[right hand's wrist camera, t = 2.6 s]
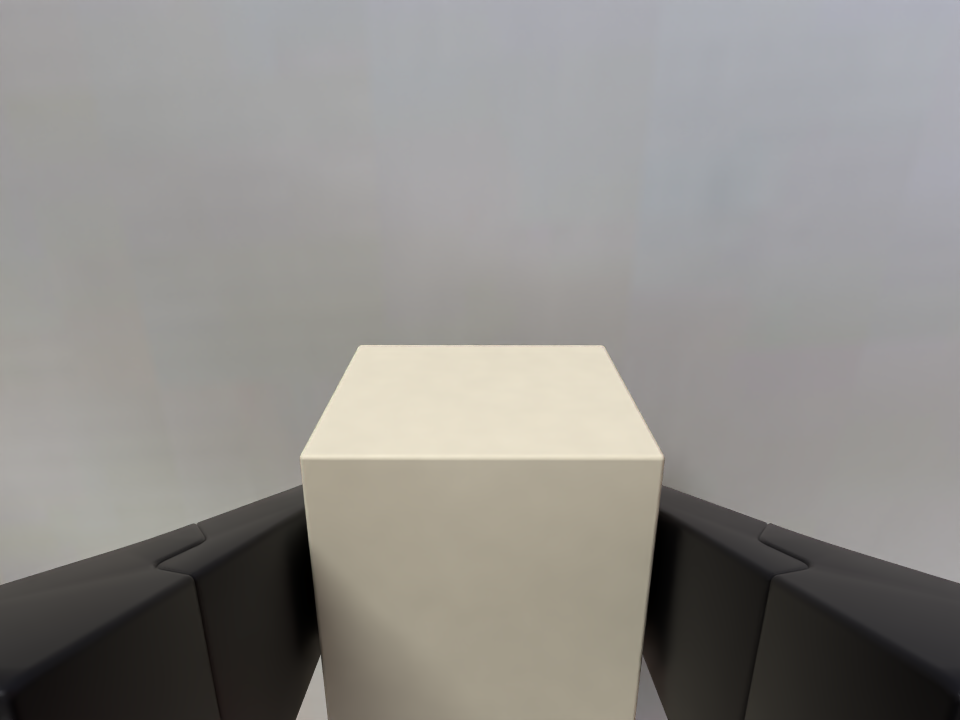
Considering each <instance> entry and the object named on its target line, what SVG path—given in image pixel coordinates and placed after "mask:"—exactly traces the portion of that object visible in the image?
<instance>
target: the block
mask: <svg viewBox="0 0 960 720" xmlns="http://www.w3.org/2000/svg"><path fill="white" fill-rule="evenodd" d="M664 461H665V458H664V455H663V453H662V451H661V450H660V448H659V446H658V444H657V442H656V440H655V439H654V437H653V435H652V433H651V431H650V429H649V428H648V426H647V424H646V422H645V420H644V418H643V417H642V415H641V413H640V411H639V409H638V407H637V406H636V404H635V402H634V400H633V398H632V396H631V395H630V393H629V391H628V389H627V387H626V385H625V384H624V382H623V380H622V378H621V376H620V374H619V373H618V371H617V369H616V367H615V365H614V363H613V362H612V360H611V358H610V356H609V354H608V352H607V350H606V349H605V347H604V346H602V345H360V346H359V347H358V349H357V351H356V352H355V354H354V356H353V358H352V360H351V362H350V364H349V366H348V367H347V369H346V371H345V373H344V375H343V377H342V379H341V381H340V382H339V384H338V386H337V388H336V390H335V392H334V394H333V396H332V397H331V399H330V401H329V403H328V405H327V407H326V409H325V411H324V412H323V414H322V416H321V418H320V420H319V422H318V424H317V426H316V427H315V429H314V431H313V433H312V435H311V437H310V439H309V441H308V442H307V444H306V446H305V448H304V450H303V452H302V454H301V456H300V466H301V475H302V484H303V493H304V503H305V512H306V521H307V530H308V540H309V549H310V558H311V567H312V576H313V586H314V595H315V604H316V613H317V623H318V632H319V641H320V650H321V660H322V669H323V678H324V687H325V696H326V706H327V715H328V720H635V715H636V707H637V698H638V689H639V680H640V672H641V663H642V654H643V645H644V636H645V628H646V619H647V610H648V601H649V593H650V584H651V575H652V566H653V557H654V549H655V540H656V531H657V522H658V514H659V505H660V496H661V487H662V478H663V470H664Z"/></svg>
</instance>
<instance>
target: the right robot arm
mask: <svg viewBox="0 0 960 720" xmlns="http://www.w3.org/2000/svg"><path fill="white" fill-rule="evenodd" d="M320 655H321V650H320V641H319V632H318V623H317V613H316V604H315V595H314V586H313V576H312V567H311V558H310V549H309V540H308V530H307V521H306V512H305V503H304V493H303V485H300V486H297V487H295V488H292V489H289V490H286V491H284V492H281V493H278V494H275V495H273V496H270V497H267V498H264V499H262V500H259V501H256V502H253V503H251V504H248V505H245V506H242V507H240V508H237V509H234V510H231V511H229V512H226V513H223V514H220V515H218V516H215V517H212V518H209V519H207V520H204V521H201V522H198V523H197V525H196V524H191V525H188V526H185V527H182V528H179V529H177V530H174V531H171V532H168V533H165V534H162V535H159V536H156V537H154V538H151V539H148V540H145V541H142V542H138V543H135V544H132V545H129V546H126V547H123V548H120V549H117V550H113V551H110V552H107V553H104V554H100V555H97V556H94V557H91V558H87V559H84V560H81V561H78V562H74V563H71V564H68V565H65V566H61V567H58V568H55V569H52V570H48V571H45V572H42V573H39V574H35V575H32V576H29V577H26V578H22V579H19V580H16V581H13V582H9V583H6V584H3V585H0V720H296V718H297V715H298V712H299V710H300V707H301V704H302V702H303V699H304V697H305V694H306V691H307V689H308V686H309V684H310V681H311V678H312V676H313V673H314V670H315V668H316V665H317V663H318V660H319V657H320ZM643 656H644V659H645V662H646V664H647V667H648V669H649V672H650V674H651V677H652V680H653V682H654V685H655V687H656V690H657V692H658V695H659V698H660V700H661V703H662V705H663V708H664V711H665V713H666V716H667V718H668V720H960V584H959V583H956V582H953V581H950V580H946V579H943V578H940V577H936V576H933V575H930V574H927V573H923V572H920V571H917V570H913V569H910V568H907V567H904V566H900V565H897V564H894V563H891V562H887V561H884V560H881V559H877V558H874V557H871V556H868V555H864V554H861V553H858V552H855V551H851V550H848V549H845V548H842V547H839V546H836V545H832V544H829V543H826V542H823V541H820V540H817V539H814V538H811V537H808V536H805V535H802V534H799V533H796V532H793V531H790V530H788V529H785V528H782V527H779V526H776V525H774V524H767V523H766V522H763V521H760V520H757V519H755V518H752V517H749V516H746V515H743V514H741V513H738V512H735V511H732V510H730V509H727V508H724V507H721V506H718V505H716V504H713V503H710V502H707V501H705V500H702V499H699V498H696V497H694V496H691V495H688V494H685V493H682V492H680V491H677V490H674V489H671V488H669V487H666V486H663V485H662V487H661V496H660V505H659V514H658V522H657V531H656V540H655V549H654V557H653V566H652V575H651V584H650V593H649V601H648V610H647V619H646V628H645V636H644V645H643Z"/></svg>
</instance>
